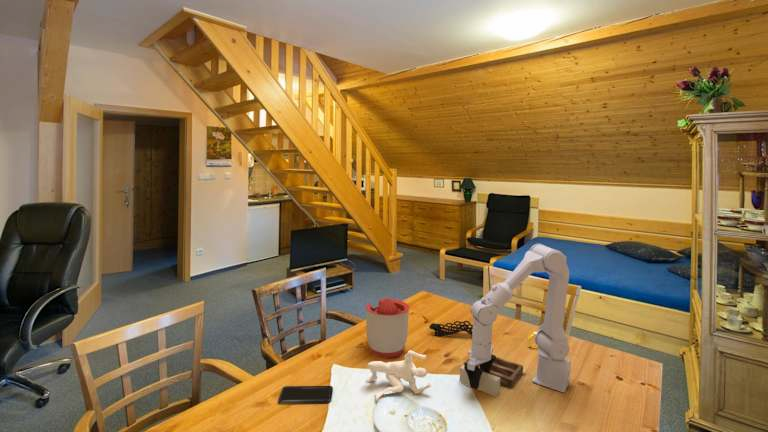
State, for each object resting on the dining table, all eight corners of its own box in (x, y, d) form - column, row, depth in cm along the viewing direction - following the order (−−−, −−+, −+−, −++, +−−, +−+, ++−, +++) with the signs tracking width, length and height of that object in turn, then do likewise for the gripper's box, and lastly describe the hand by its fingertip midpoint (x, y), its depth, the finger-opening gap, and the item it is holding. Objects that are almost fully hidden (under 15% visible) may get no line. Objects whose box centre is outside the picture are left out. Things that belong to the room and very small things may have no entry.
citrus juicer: (383, 335, 156) (384, 286, 153) (417, 351, 143) (418, 298, 141) (353, 348, 145) (353, 296, 142) (386, 366, 132) (388, 309, 130)
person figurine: (366, 366, 112) (425, 348, 116) (358, 354, 124) (412, 339, 128) (376, 412, 111) (434, 392, 116) (367, 395, 124) (420, 378, 128)
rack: (522, 373, 130) (523, 365, 129) (511, 388, 121) (511, 380, 120) (477, 358, 139) (477, 350, 139) (463, 371, 130) (463, 363, 130)
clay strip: (499, 393, 119) (500, 377, 118) (496, 397, 117) (497, 381, 116) (463, 379, 126) (463, 364, 125) (459, 382, 124) (460, 367, 123)
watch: (542, 347, 149) (544, 332, 148) (544, 350, 146) (547, 335, 145) (526, 345, 149) (528, 330, 148) (528, 348, 146) (530, 333, 146)
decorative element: (485, 334, 159) (485, 320, 158) (487, 340, 154) (488, 326, 153) (428, 332, 160) (429, 318, 160) (429, 337, 155) (429, 323, 155)
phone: (331, 401, 112) (277, 401, 111) (331, 405, 112) (277, 405, 111) (333, 385, 120) (283, 385, 119) (333, 388, 120) (283, 389, 119)
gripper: (479, 329, 127) (476, 368, 129) (458, 345, 116) (456, 388, 118) (500, 335, 123) (497, 375, 125) (481, 352, 112) (478, 397, 113)
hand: (479, 382), depth 121 cm, fingers open, 7 cm apart
